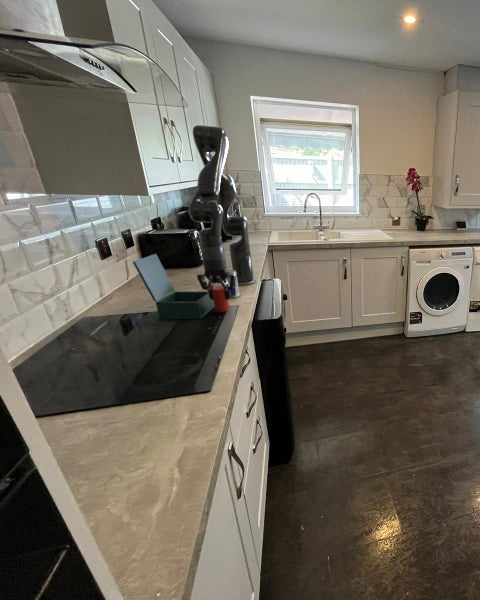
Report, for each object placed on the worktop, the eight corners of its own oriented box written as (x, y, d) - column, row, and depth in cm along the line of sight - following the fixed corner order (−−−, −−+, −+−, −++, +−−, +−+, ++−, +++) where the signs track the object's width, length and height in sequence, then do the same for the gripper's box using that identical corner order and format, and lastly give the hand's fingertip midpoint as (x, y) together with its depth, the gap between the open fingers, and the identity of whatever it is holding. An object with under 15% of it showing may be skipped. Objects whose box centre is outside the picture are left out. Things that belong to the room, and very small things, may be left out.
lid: (156, 253, 125) (154, 254, 125) (134, 261, 113) (132, 262, 113) (175, 290, 131) (173, 290, 131) (156, 301, 119) (154, 301, 119)
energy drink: (223, 296, 146) (219, 271, 142) (234, 293, 150) (230, 268, 146) (231, 299, 144) (227, 273, 140) (242, 295, 148) (238, 270, 144)
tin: (218, 307, 131) (215, 286, 128) (231, 307, 132) (228, 286, 129) (213, 311, 127) (209, 290, 123) (226, 311, 127) (223, 290, 124)
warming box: (214, 306, 135) (212, 291, 133) (200, 319, 123) (197, 302, 121) (177, 306, 133) (174, 291, 131) (159, 319, 122) (155, 302, 119)
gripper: (237, 255, 126) (243, 296, 132) (198, 254, 124) (206, 296, 130) (229, 259, 119) (236, 302, 125) (188, 259, 117) (197, 302, 123)
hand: (220, 299), depth 128 cm, fingers closed on tin, 5 cm apart
